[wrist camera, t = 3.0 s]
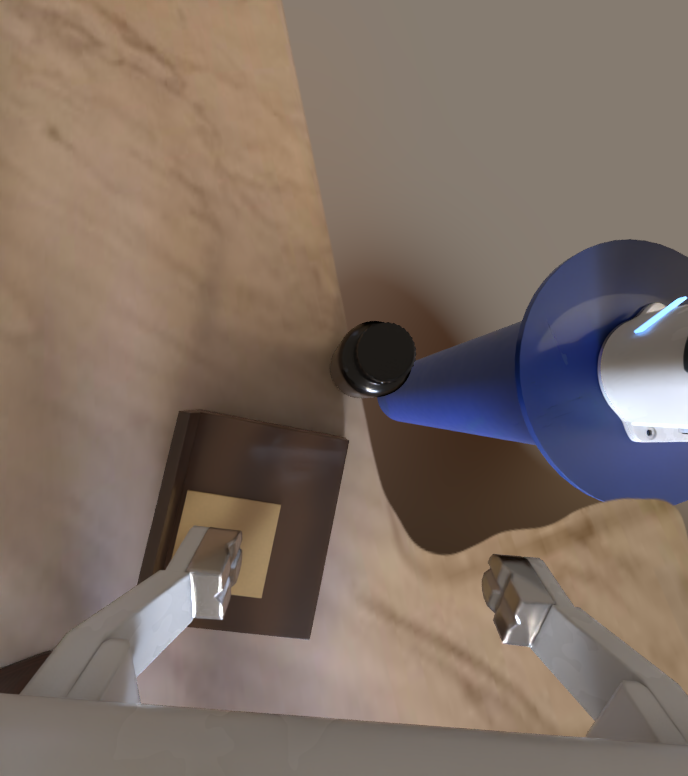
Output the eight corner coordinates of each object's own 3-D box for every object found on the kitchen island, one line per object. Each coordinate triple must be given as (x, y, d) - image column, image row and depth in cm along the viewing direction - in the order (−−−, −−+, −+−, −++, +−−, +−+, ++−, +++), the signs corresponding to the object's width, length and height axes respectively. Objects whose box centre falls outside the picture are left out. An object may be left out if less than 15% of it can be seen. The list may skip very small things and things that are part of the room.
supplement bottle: (399, 367, 37) (445, 350, 25) (360, 410, 36) (390, 414, 24) (356, 327, 37) (384, 290, 25) (316, 370, 36) (325, 353, 24)
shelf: (345, 437, 36) (354, 444, 30) (308, 619, 34) (310, 665, 28) (200, 409, 34) (178, 410, 28) (154, 602, 32) (121, 646, 26)
